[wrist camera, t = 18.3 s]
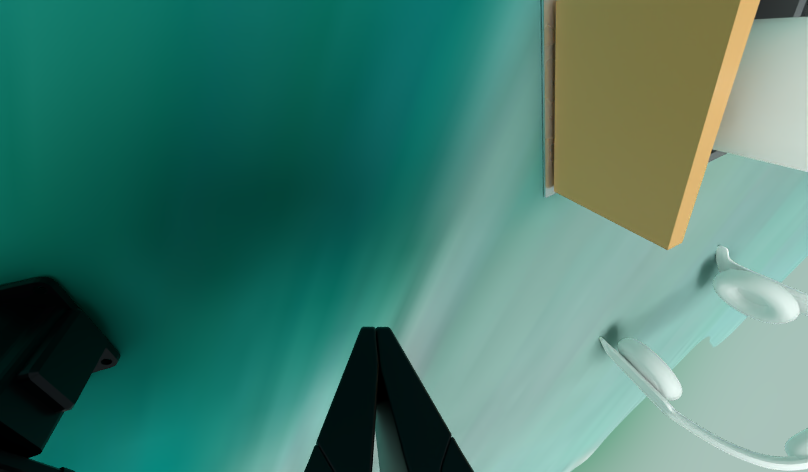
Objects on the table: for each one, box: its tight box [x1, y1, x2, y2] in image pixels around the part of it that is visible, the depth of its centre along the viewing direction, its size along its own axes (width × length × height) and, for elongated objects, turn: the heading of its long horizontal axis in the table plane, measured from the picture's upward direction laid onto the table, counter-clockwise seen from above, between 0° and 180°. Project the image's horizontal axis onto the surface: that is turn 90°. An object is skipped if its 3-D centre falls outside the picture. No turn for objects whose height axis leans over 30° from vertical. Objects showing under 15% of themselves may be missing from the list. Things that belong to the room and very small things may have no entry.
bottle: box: [712, 17, 808, 172], centre depth 15 cm, size 6×6×13 cm
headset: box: [599, 245, 808, 471], centre depth 34 cm, size 20×7×18 cm, turn 119°
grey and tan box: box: [554, 0, 807, 250], centre depth 18 cm, size 11×12×8 cm
